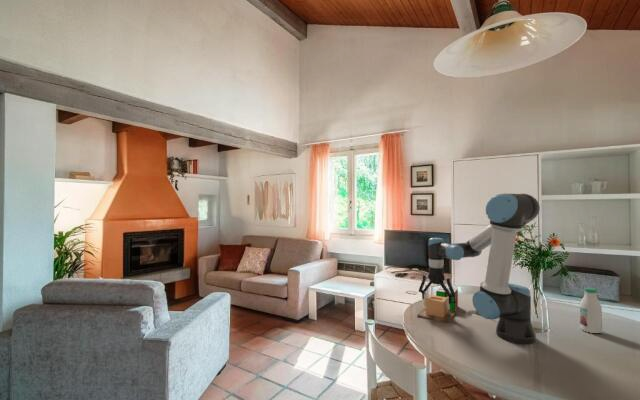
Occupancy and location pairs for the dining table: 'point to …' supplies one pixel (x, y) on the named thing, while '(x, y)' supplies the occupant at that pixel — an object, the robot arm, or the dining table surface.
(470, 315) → the folded banknote origami
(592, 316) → the milk bottle
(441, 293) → the puzzle cube
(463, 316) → the dining table surface
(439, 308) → the orange hollow rectangular tube
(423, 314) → the key base
